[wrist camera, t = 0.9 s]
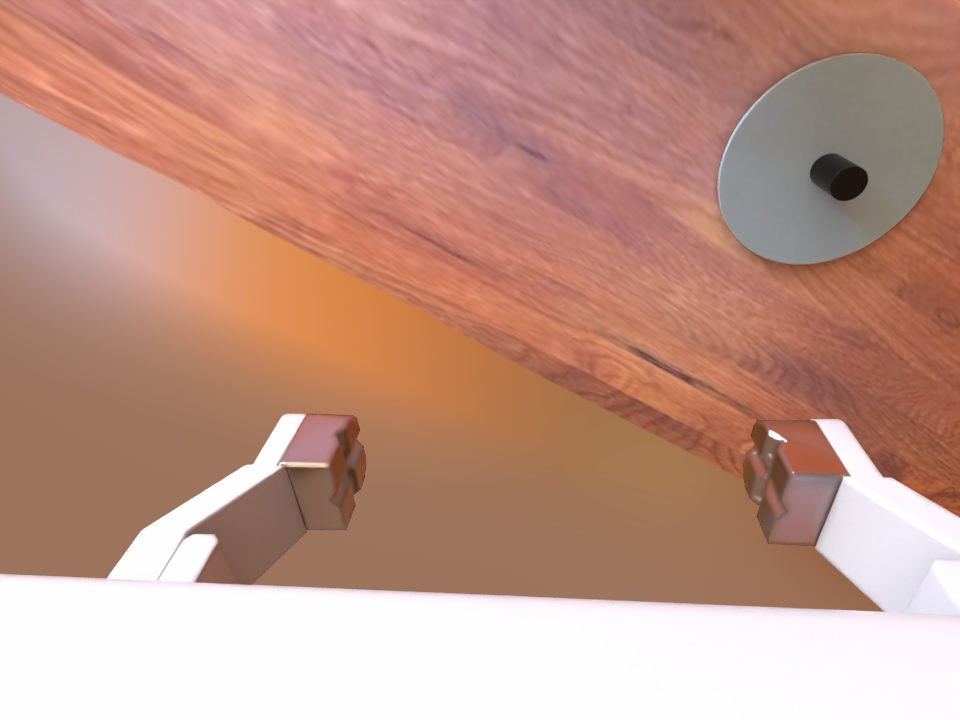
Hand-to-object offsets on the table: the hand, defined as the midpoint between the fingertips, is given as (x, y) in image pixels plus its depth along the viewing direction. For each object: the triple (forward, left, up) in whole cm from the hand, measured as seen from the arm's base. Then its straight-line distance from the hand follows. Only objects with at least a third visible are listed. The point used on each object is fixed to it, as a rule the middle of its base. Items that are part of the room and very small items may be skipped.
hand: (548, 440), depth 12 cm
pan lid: (+3, +24, -41) cm, 47 cm away
